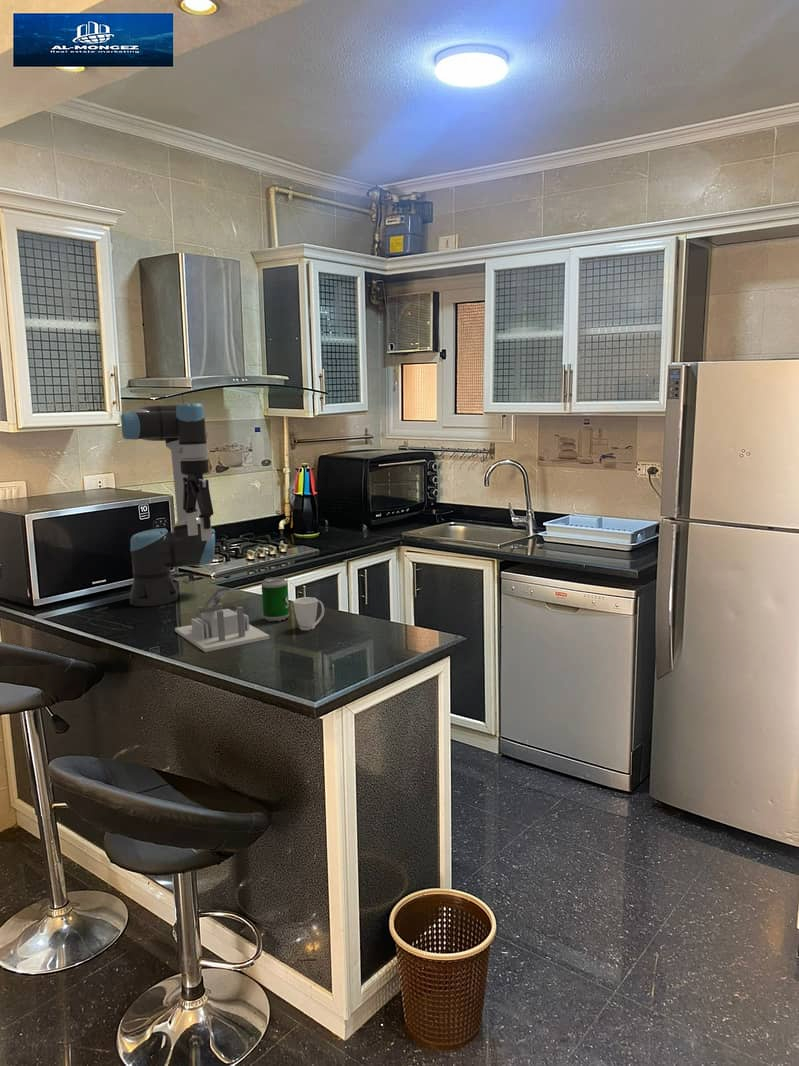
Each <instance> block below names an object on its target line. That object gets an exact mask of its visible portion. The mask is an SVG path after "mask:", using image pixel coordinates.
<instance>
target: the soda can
mask: <svg viewBox="0 0 799 1066" xmlns="http://www.w3.org/2000/svg"><path fill="white" fill-rule="evenodd" d="M261 596H262V597H261V598H262V600H261V601H262V613H263V616H262V617H263V618H264V619H265V620H266V621H267V620H268V621H267V622H270V621H279V622H282V621H281V620H284V621H286V620H287V619H286V618H289V616H290V604H289V601H290V600H289V586H288V580H287V579H285V578H284V577H282V576H281V577H280V576H275V577H274V576H273V577H267V578H265V579H264V580H263V582H261ZM285 619H286V620H285Z"/></svg>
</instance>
